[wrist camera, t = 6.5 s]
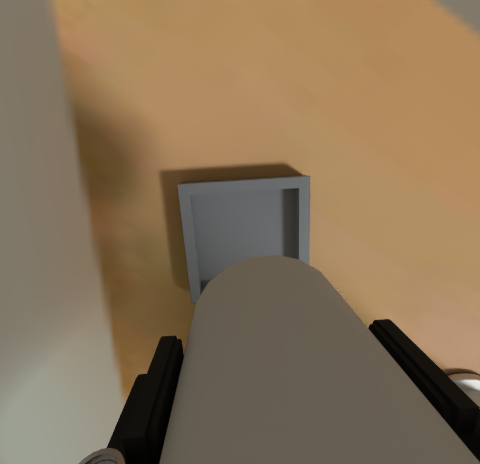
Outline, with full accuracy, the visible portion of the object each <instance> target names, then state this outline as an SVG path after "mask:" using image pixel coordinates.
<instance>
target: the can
mask: <svg viewBox="0 0 480 464" xmlns="http://www.w3.org/2000/svg"><path fill="white" fill-rule="evenodd" d="M159 464H480V462H479V461H478V460H477V459H476V457H475V456H474V455H473V454H472V453H471V451H470V450H469V449H468V448H467V447H466V445H465V444H464V443H463V442H462V441H461V439H460V438H459V437H458V436H457V435H456V433H455V432H454V431H453V430H452V429H451V427H450V426H449V425H448V424H447V423H446V421H445V420H444V419H443V418H442V417H441V415H440V414H439V413H438V412H437V411H436V409H435V408H434V407H433V406H432V405H431V403H430V402H429V401H428V400H427V399H426V397H425V396H424V395H423V394H422V393H421V391H420V390H419V389H418V388H417V387H416V385H415V384H414V383H413V382H412V381H411V379H410V378H409V377H408V376H407V375H406V373H405V372H404V371H403V370H402V369H401V367H400V366H399V365H398V364H397V363H396V361H395V360H394V359H393V358H392V357H391V355H390V354H389V353H388V352H387V351H386V349H385V348H384V347H383V346H382V345H381V343H380V342H379V341H378V340H377V339H376V337H375V336H374V335H373V334H372V333H371V331H370V330H369V329H368V328H367V327H366V325H365V324H364V323H363V322H362V321H361V319H360V318H359V317H358V316H357V315H356V313H355V312H354V311H353V310H352V309H351V307H350V306H349V305H348V304H347V303H346V301H345V300H344V299H343V298H342V297H341V295H340V294H339V293H338V292H337V291H336V289H335V288H334V287H333V286H332V285H331V283H330V282H329V281H328V280H327V279H326V278H325V277H324V275H323V274H322V273H321V272H320V271H319V270H317V269H315V268H313V267H312V266H310V265H308V264H306V263H305V262H303V261H301V260H299V259H294V258H289V257H284V256H279V255H269V256H259V257H250V258H247V259H245V260H243V261H240V262H238V263H236V264H233V265H231V266H228V267H226V268H225V269H224V270H223V271H222V272H220V273H219V274H218V275H217V276H216V277H215V278H213V279H212V280H211V281H210V282H209V283H208V284H207V286H206V287H205V289H204V291H203V292H202V294H201V296H200V297H199V299H198V300H197V302H196V306H195V311H194V315H193V319H192V324H191V328H190V332H189V337H188V341H187V345H186V350H185V354H184V358H183V363H182V367H181V371H180V376H179V380H178V385H177V389H176V393H175V398H174V402H173V406H172V411H171V415H170V419H169V424H168V428H167V432H166V437H165V441H164V445H163V450H162V454H161V458H160V463H159Z"/></svg>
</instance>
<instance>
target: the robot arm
mask: <svg viewBox="0 0 480 464" xmlns="http://www.w3.org/2000/svg"><path fill="white" fill-rule="evenodd" d="M369 330H370V331H371V333H372V334H373V335H374V336H375V337H376V339H377V340H378V341H379V342H380V343H381V345H382V346H383V347H384V348H385V349H386V351H387V352H388V353H389V354H390V355H391V357H392V358H393V359H394V360H395V361H396V363H397V364H398V365H399V366H400V367H401V369H402V370H403V371H404V372H405V373H406V375H407V376H408V377H409V378H410V379H411V381H412V382H413V383H414V384H415V385H416V387H417V388H418V389H419V390H420V391H421V393H422V394H423V395H424V396H425V397H426V399H427V400H428V401H429V402H430V403H431V405H432V406H433V407H434V408H435V409H436V411H437V412H438V413H439V414H440V415H441V417H442V418H443V419H444V420H445V421H446V423H447V424H448V425H449V426H450V427H451V429H452V430H453V431H454V432H455V433H456V435H457V436H458V437H459V438H460V439H461V441H462V442H463V443H464V444H465V445H466V447H467V448H468V449H469V450H470V451H471V453H472V454H473V455H474V456H475V457H476V459H477V460H478V461H479V462H480V376H479V375H475V374H468V373H461V374H452V375H448V376H447V375H446V374H445V373H444V372H443V371H442V370H441V369H440V368H439V367H438V366H437V365H436V364H435V363H434V362H433V361H432V360H431V359H430V358H429V357H428V356H427V355H426V354H425V353H424V352H423V351H422V350H421V349H420V348H419V347H418V346H417V345H416V344H414V343H413V342H412V341H411V340H410V339H409V338H408V337H407V336H406V335H405V334H404V333H403V332H402V331H401V330H400V329H399V328H398V327H397V326H396V325H395V324H394V323H393V322H392V321H391V320H389V319H384V320H375V321H373V324H371V325H370V326H369ZM183 358H184V354H183V347H182V340H181V339H177V337H176V336H164V337H161V339H160V341H159V344H158V346H157V349H156V352H155V354H154V357H153V359H152V362H151V365H150V367H149V370H148V372H147V374H139V375H138V376H137V378H136V380H135V382H134V385H133V387H132V389H131V392H130V394H129V396H128V399H127V401H126V404H125V406H124V408H123V411H122V413H121V415H120V418H119V420H118V422H117V425H116V427H115V430H114V432H113V434H112V437H111V439H110V441H109V444H108V446H107V448H105V449H101V450H98V451H96V452H93V453H92V454H90V455H89V456H87V457H86V458H84V459H83V460H82V461H81V462H80V463H79V464H159V463H160V458H161V454H162V450H163V445H164V441H165V437H166V432H167V428H168V424H169V419H170V415H171V411H172V406H173V402H174V398H175V393H176V389H177V385H178V380H179V376H180V371H181V367H182V363H183Z"/></svg>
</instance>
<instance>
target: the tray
mask: <svg viewBox="0 0 480 464" xmlns="http://www.w3.org/2000/svg"><path fill="white" fill-rule="evenodd" d="M177 187H178V195H179V203H180V211H181V220H182V228H183V236H184V245H185V253H186V261H187V270H188V278H189V286H190V295H191V303H192V304H196V302H197V300H198V299H199V297H200V296H201V294H202V292H203V291H204V289H205V287H206V286H207V284H208V283H209V282H210V281H211V280H212V279H213V278H215V277H216V276H217V275H218V274H219V273H220V272H222V271H223V270H224V269H225V268H226V267H228V266H231V265H233V264H236V263H238V262H240V261H243V260H245V259H247V258H250V257H259V256H269V255H279V256H284V257H289V258H294V259H299V260H301V261H303V262H305V263H306V264H308V265H309V227H310V176H306V175H295V176H279V177H263V178H247V179H231V180H215V181H198V182H182V183H179V184H177Z"/></svg>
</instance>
